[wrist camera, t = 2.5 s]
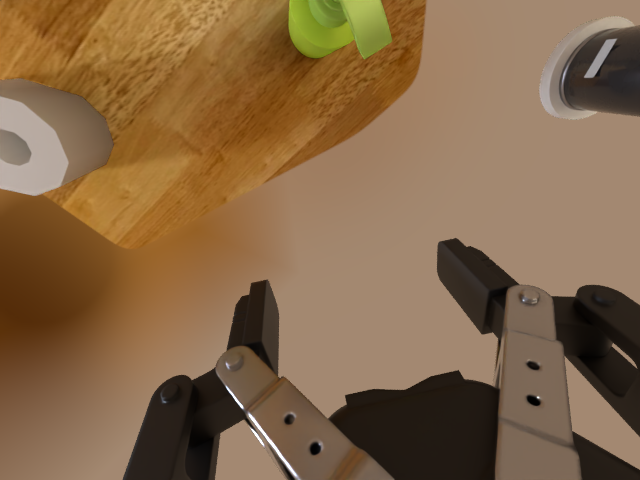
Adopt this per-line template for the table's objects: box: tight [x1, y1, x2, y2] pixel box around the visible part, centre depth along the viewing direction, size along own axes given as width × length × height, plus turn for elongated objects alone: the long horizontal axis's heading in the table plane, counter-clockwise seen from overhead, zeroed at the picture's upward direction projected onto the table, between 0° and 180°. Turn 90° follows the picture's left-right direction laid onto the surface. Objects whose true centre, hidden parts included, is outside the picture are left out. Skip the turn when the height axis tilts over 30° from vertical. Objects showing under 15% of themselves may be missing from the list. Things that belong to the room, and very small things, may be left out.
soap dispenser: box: [288, 0, 392, 59], centre depth 24 cm, size 6×7×20 cm
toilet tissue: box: [0, 79, 114, 196], centre depth 30 cm, size 9×13×9 cm
